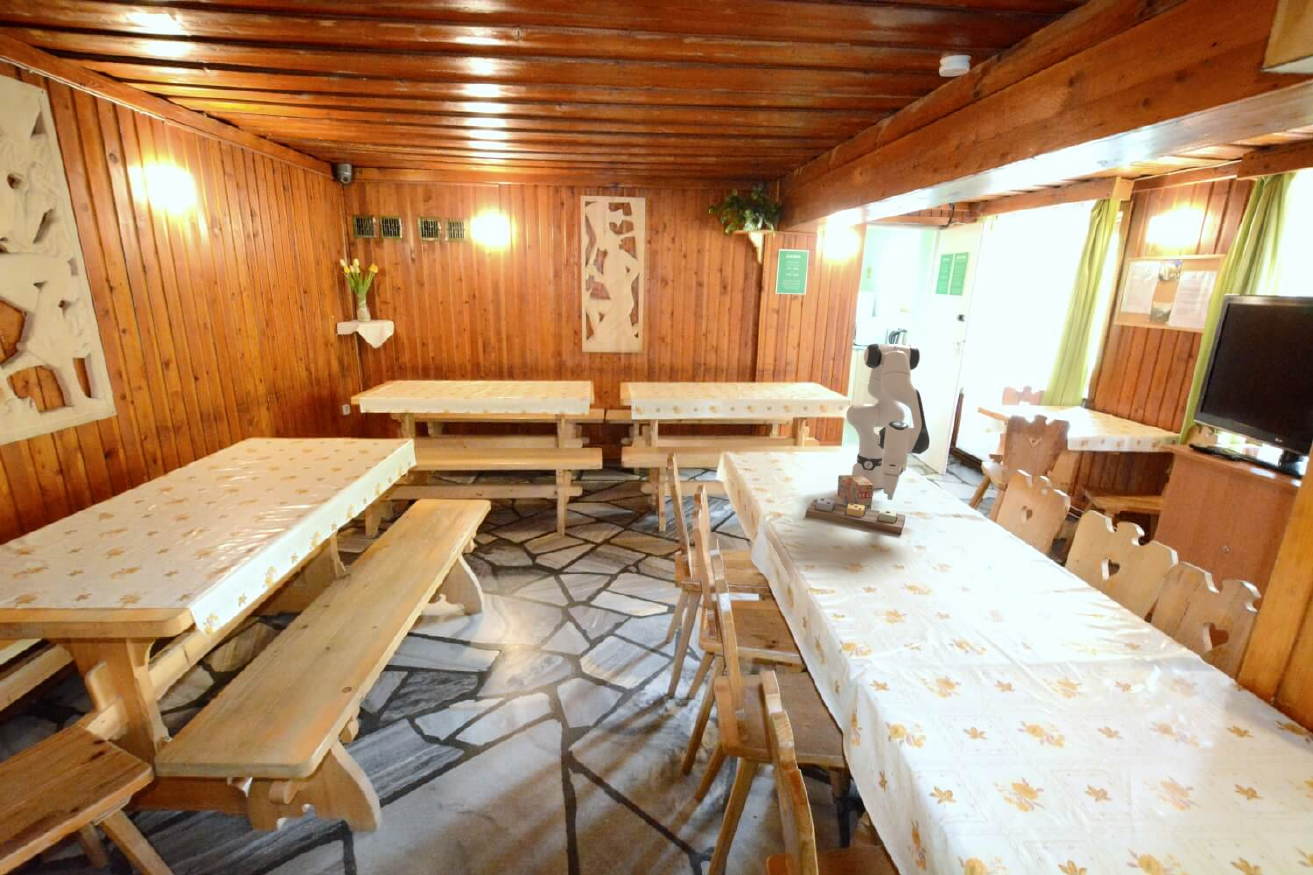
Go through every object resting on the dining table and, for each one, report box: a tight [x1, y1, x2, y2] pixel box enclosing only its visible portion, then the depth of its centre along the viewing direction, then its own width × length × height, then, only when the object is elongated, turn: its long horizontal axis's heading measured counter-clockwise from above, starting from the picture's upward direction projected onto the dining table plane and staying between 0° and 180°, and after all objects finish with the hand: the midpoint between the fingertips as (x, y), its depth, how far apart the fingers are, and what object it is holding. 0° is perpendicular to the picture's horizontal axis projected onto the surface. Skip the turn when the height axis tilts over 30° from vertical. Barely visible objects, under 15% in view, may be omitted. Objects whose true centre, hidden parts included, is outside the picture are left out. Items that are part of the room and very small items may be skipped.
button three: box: [846, 503, 865, 517], centre depth 232 cm, size 6×6×4 cm
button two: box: [816, 497, 835, 512], centre depth 238 cm, size 6×6×4 cm
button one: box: [878, 508, 898, 523], centre depth 227 cm, size 6×6×4 cm
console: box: [805, 499, 906, 535], centre depth 233 cm, size 14×36×3 cm, turn 62°
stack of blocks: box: [836, 474, 874, 509], centre depth 250 cm, size 21×6×12 cm, turn 5°
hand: (890, 498), depth 225 cm, fingers closed
